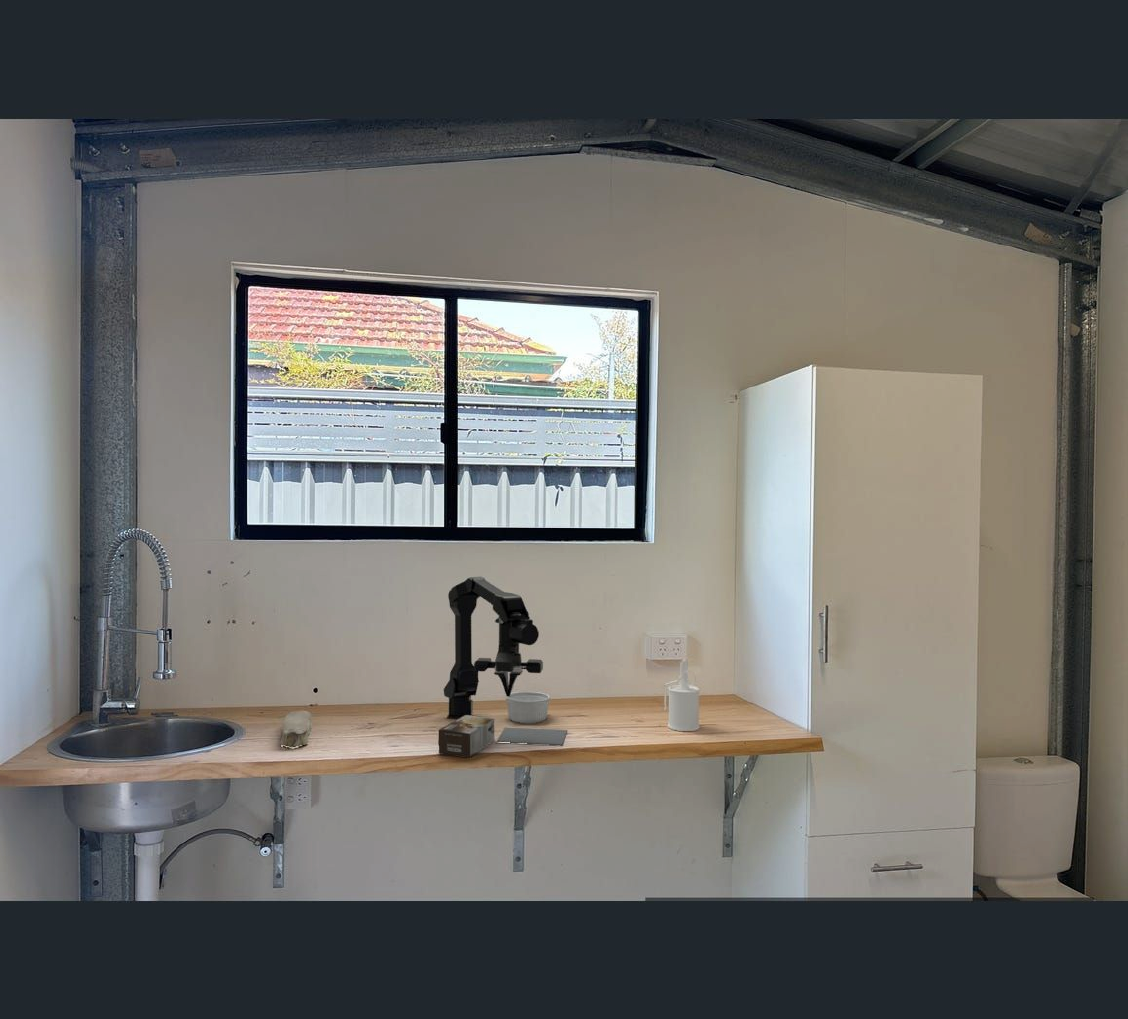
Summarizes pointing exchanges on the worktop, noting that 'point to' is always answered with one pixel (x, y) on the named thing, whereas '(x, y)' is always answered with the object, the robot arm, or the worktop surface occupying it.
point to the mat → (532, 736)
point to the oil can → (683, 702)
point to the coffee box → (466, 736)
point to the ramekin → (527, 706)
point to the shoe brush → (296, 728)
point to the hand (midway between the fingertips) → (508, 696)
